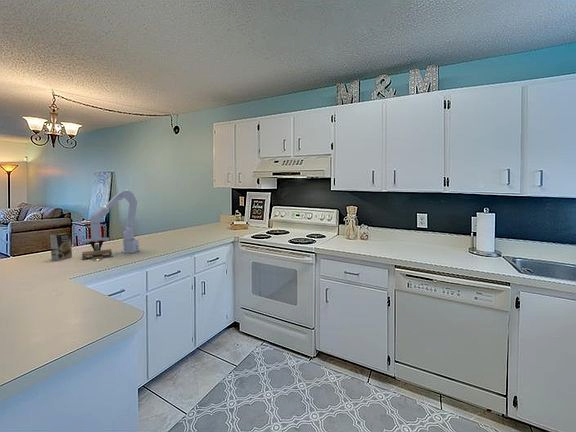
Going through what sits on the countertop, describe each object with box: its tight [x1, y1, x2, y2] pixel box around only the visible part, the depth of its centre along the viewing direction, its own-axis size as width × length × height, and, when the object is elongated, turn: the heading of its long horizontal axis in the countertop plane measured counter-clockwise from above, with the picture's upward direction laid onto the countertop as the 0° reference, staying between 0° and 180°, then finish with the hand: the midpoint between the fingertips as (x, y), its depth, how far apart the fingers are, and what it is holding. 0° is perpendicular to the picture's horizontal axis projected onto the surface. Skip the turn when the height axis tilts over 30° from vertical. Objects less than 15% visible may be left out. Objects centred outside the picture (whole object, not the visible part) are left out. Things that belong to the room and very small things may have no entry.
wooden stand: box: [81, 248, 113, 261], centre depth 196 cm, size 7×16×4 cm, turn 123°
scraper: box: [91, 243, 104, 261], centre depth 198 cm, size 15×6×7 cm, turn 33°
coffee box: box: [49, 232, 73, 261], centre depth 192 cm, size 9×6×16 cm
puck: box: [92, 258, 103, 262], centre depth 190 cm, size 5×5×1 cm
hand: (97, 252), depth 203 cm, fingers closed on scraper, 2 cm apart
